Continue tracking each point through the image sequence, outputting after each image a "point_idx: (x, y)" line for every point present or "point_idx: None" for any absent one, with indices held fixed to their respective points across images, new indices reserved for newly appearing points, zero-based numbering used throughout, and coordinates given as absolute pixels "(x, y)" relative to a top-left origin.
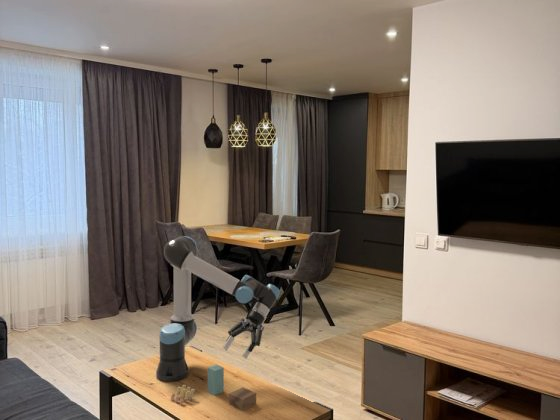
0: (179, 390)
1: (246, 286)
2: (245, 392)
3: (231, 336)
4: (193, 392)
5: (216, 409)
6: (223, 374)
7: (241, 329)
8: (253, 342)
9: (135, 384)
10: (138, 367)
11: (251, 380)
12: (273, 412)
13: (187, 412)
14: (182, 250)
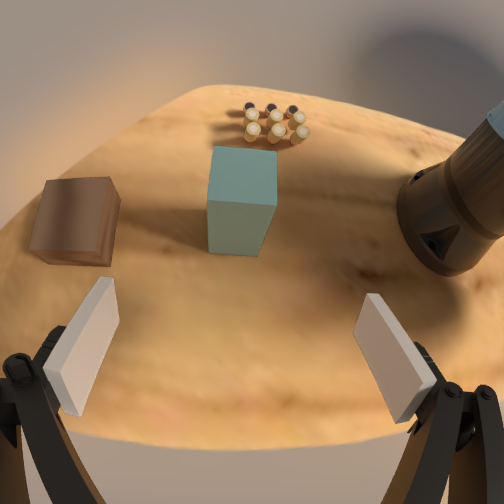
0: (292, 116)
1: None
2: (61, 224)
3: (417, 384)
4: (245, 130)
5: (135, 154)
6: (207, 218)
7: None
8: (9, 375)
9: (425, 132)
10: None
11: (198, 418)
12: None
13: (195, 101)
14: None
